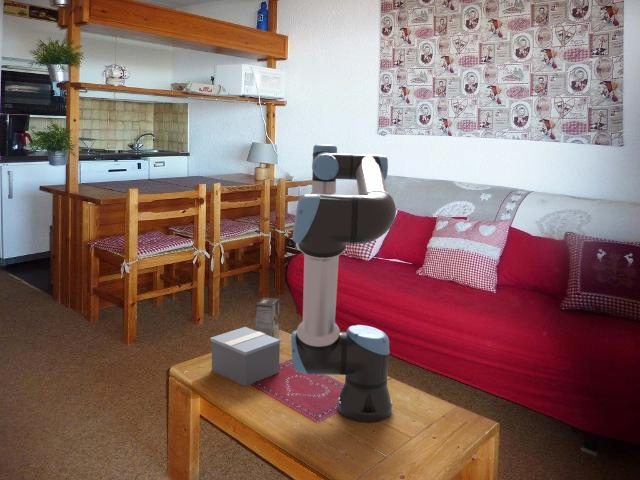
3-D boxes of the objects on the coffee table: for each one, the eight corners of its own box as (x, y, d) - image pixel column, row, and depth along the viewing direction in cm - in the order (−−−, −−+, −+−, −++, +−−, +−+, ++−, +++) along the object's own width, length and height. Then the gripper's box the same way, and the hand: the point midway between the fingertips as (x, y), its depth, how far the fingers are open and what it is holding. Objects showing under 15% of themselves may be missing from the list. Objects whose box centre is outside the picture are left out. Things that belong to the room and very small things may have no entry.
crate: (278, 373, 194) (279, 343, 192) (245, 386, 183) (246, 354, 181) (245, 358, 204) (245, 330, 202) (211, 370, 194) (211, 340, 192)
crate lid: (280, 342, 192) (280, 339, 191) (245, 355, 181) (245, 351, 181) (244, 329, 202) (244, 326, 202) (210, 340, 191) (210, 337, 191)
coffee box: (262, 339, 222) (263, 296, 219) (279, 341, 221) (280, 298, 218) (254, 348, 213) (255, 304, 210) (272, 350, 212) (273, 306, 209)
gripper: (328, 191, 200) (325, 261, 205) (300, 194, 191) (298, 267, 195) (345, 193, 195) (342, 265, 200) (318, 197, 186) (316, 272, 190)
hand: (320, 266), depth 198 cm, fingers closed
